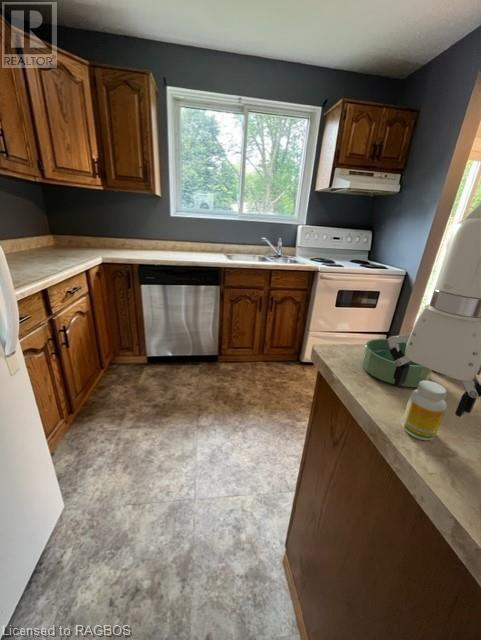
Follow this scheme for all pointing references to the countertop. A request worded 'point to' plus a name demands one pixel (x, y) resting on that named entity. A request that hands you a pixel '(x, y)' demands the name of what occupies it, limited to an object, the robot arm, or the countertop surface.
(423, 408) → the supplement bottle
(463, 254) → the robot arm
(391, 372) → the green pet bowl
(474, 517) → the countertop surface
